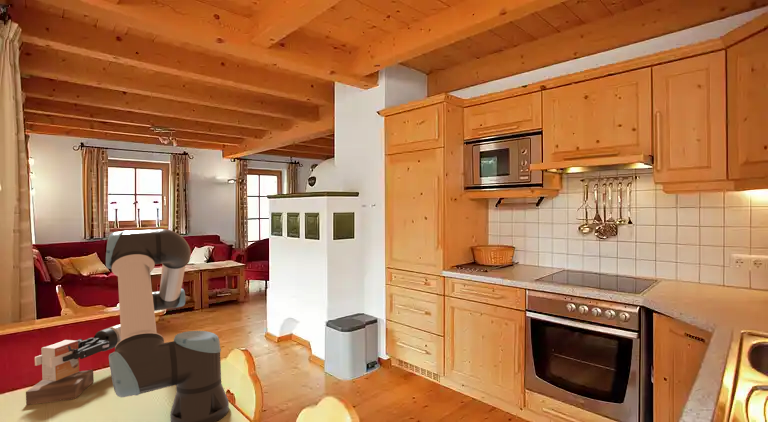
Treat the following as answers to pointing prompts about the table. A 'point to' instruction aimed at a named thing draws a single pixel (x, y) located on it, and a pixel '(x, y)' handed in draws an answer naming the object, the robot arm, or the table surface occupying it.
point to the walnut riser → (60, 388)
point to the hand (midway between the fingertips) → (43, 362)
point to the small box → (62, 369)
